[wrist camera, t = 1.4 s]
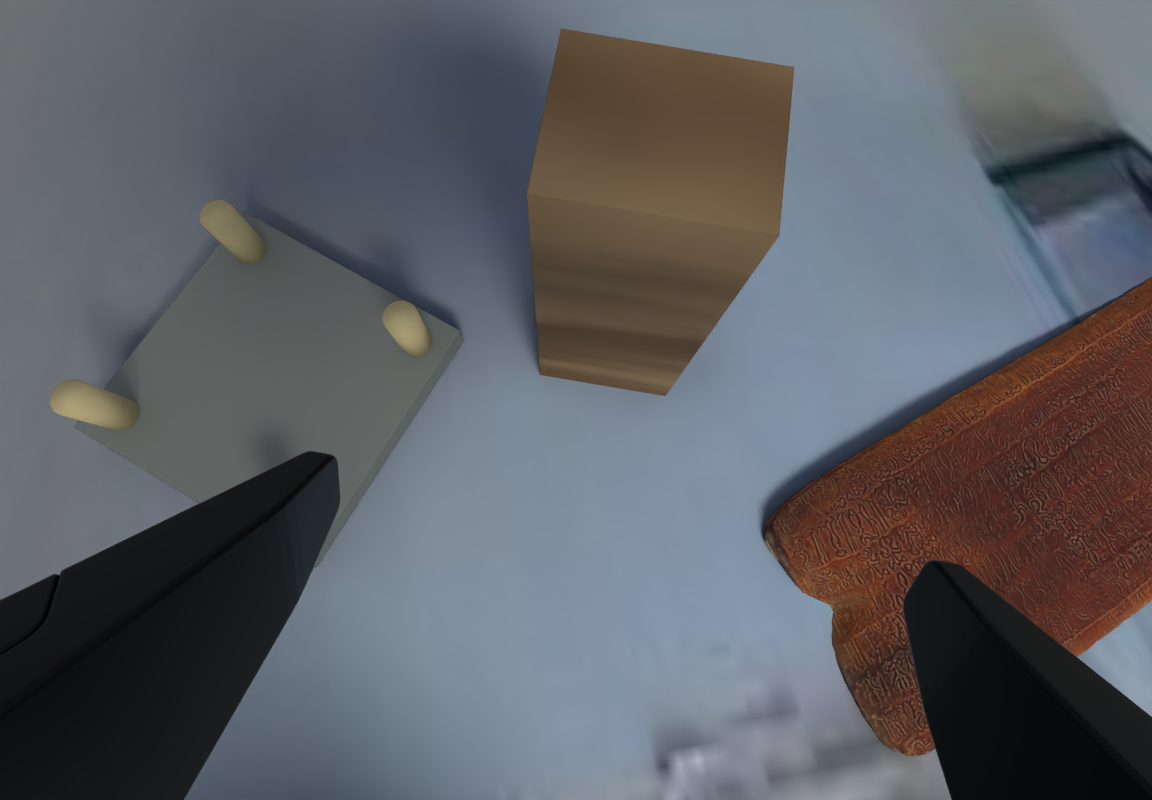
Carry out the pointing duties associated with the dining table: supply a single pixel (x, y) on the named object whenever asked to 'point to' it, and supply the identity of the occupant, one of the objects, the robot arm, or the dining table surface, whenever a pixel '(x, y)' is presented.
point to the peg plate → (267, 370)
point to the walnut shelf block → (649, 203)
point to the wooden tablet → (990, 509)
